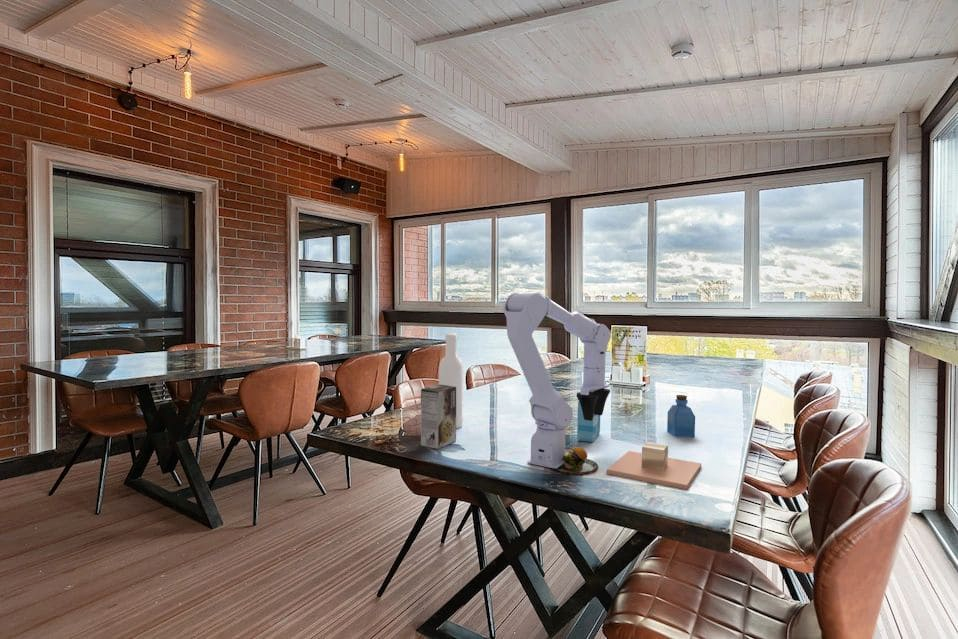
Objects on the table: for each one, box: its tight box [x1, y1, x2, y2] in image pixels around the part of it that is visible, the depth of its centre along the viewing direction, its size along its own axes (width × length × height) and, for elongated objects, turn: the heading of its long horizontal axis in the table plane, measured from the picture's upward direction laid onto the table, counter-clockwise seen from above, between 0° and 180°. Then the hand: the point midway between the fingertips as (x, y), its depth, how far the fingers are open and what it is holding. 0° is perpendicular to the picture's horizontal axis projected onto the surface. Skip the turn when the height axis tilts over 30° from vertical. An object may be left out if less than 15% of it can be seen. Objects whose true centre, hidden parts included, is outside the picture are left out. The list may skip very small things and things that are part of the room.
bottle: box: [438, 333, 464, 430], centre depth 163 cm, size 8×8×30 cm
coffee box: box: [420, 384, 457, 450], centre depth 143 cm, size 9×6×16 cm
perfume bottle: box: [666, 394, 696, 438], centre depth 157 cm, size 6×6×12 cm
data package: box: [576, 401, 601, 443], centre depth 151 cm, size 12×4×12 cm, turn 156°
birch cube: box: [641, 441, 669, 471], centre depth 123 cm, size 5×5×5 cm
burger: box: [553, 441, 599, 476], centre depth 124 cm, size 12×12×8 cm
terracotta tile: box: [606, 450, 702, 490], centre depth 123 cm, size 18×18×1 cm
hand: (593, 417), depth 137 cm, fingers open, 7 cm apart
